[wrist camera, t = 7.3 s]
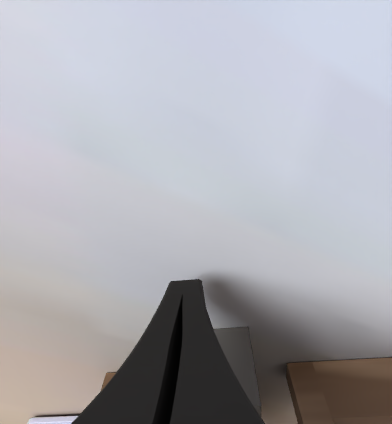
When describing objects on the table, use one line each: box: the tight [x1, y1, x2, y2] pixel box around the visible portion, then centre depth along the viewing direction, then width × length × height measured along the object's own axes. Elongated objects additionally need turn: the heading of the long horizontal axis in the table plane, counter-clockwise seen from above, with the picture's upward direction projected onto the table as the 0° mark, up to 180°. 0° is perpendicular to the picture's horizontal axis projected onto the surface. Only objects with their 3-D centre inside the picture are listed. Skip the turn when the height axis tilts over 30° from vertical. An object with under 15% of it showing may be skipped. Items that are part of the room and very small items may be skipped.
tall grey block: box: [214, 327, 261, 417], centre depth 16 cm, size 10×5×4 cm, turn 7°
